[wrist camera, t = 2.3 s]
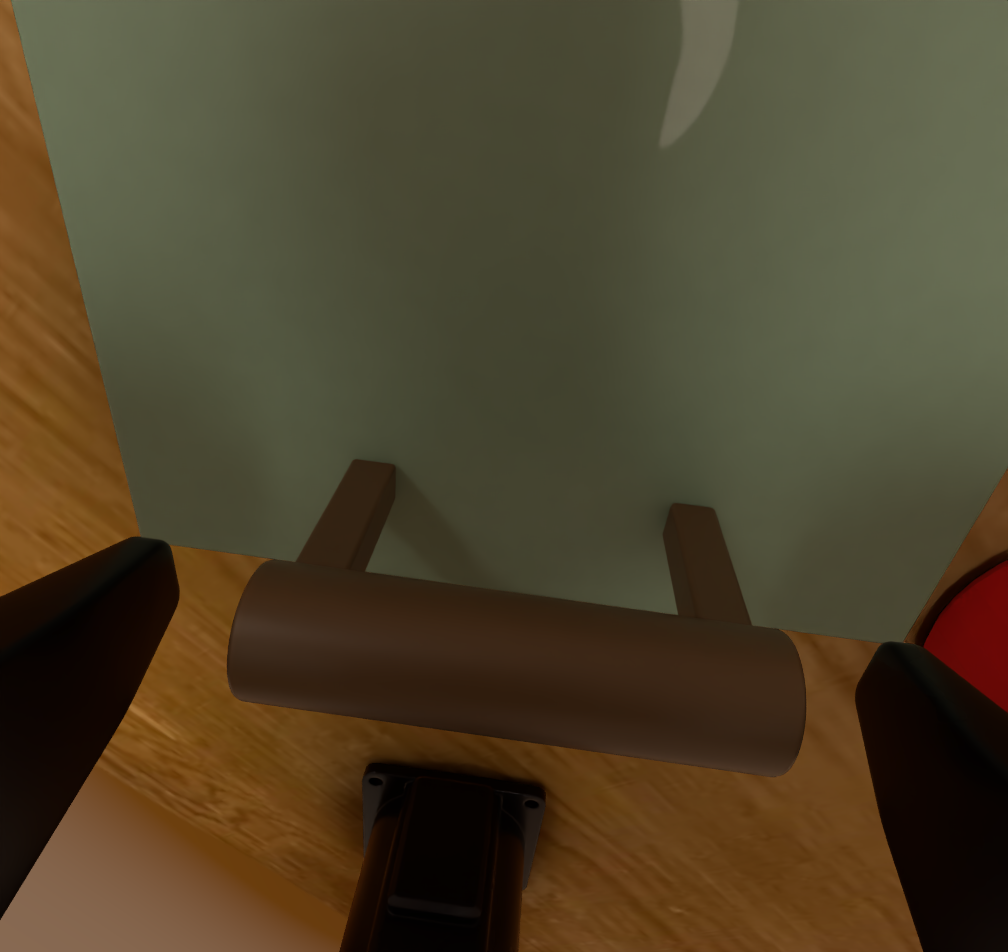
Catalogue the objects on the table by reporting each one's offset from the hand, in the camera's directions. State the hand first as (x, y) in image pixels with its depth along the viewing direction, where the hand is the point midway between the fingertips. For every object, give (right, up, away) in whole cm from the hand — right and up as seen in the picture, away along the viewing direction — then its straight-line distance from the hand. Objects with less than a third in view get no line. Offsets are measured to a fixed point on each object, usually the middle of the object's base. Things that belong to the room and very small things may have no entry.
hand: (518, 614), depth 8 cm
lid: (+1, +5, +1) cm, 5 cm away
